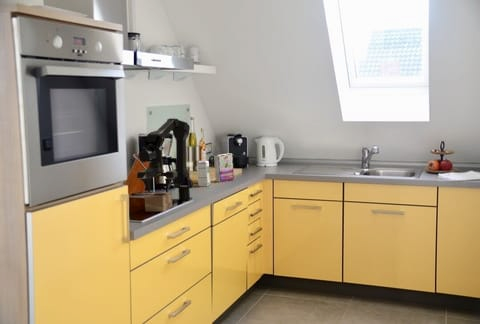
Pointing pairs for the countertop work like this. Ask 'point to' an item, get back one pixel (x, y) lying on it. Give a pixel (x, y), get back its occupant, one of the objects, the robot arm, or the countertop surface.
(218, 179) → the candy bar box
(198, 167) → the syrup box
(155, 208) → the money box
